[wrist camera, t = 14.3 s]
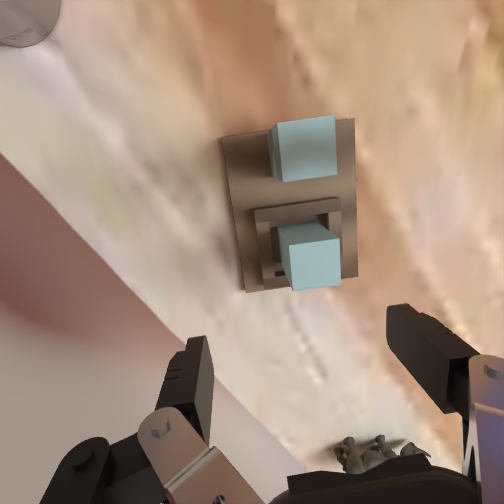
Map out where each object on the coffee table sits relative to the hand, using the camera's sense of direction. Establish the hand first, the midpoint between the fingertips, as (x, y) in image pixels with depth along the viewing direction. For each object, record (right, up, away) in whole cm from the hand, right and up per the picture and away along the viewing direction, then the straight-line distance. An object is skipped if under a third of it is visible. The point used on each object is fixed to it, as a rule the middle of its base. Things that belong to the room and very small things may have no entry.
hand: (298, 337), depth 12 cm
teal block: (+3, +5, +21) cm, 22 cm away
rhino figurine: (+18, -27, +33) cm, 46 cm away
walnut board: (+3, +9, +21) cm, 23 cm away
